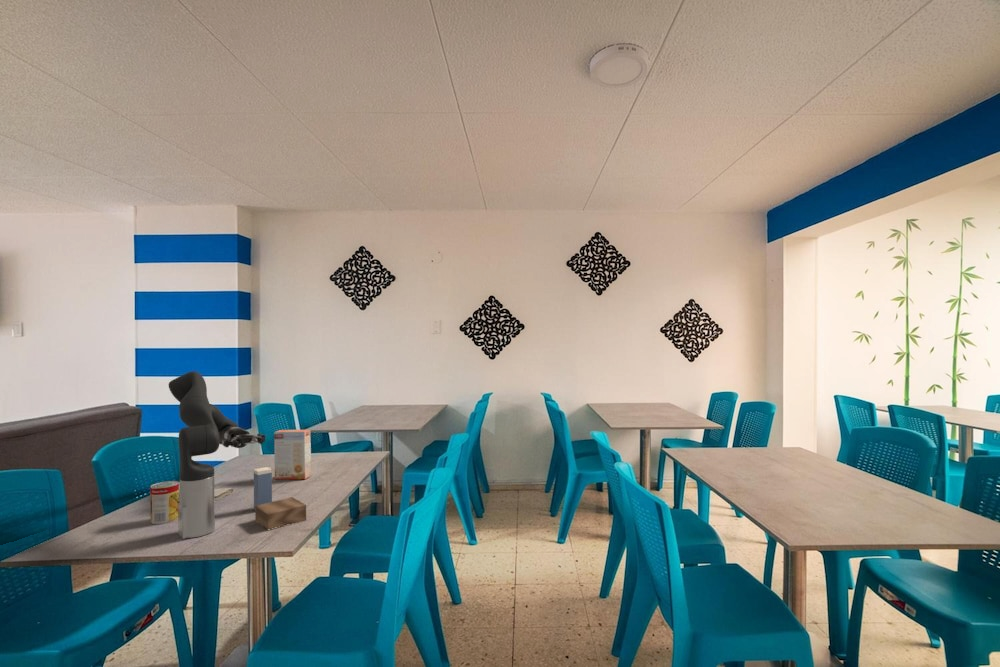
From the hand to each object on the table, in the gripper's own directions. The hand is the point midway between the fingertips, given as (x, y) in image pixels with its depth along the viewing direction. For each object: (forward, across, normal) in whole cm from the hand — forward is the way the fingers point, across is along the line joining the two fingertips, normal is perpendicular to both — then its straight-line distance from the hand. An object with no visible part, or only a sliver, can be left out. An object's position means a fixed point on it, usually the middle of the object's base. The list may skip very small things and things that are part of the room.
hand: (249, 442), depth 182 cm
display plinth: (+31, 0, +21) cm, 38 cm away
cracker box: (-18, +23, +22) cm, 36 cm away
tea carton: (+14, 0, +21) cm, 26 cm away
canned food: (+1, -27, +22) cm, 35 cm away
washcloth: (-13, -12, +22) cm, 29 cm away
